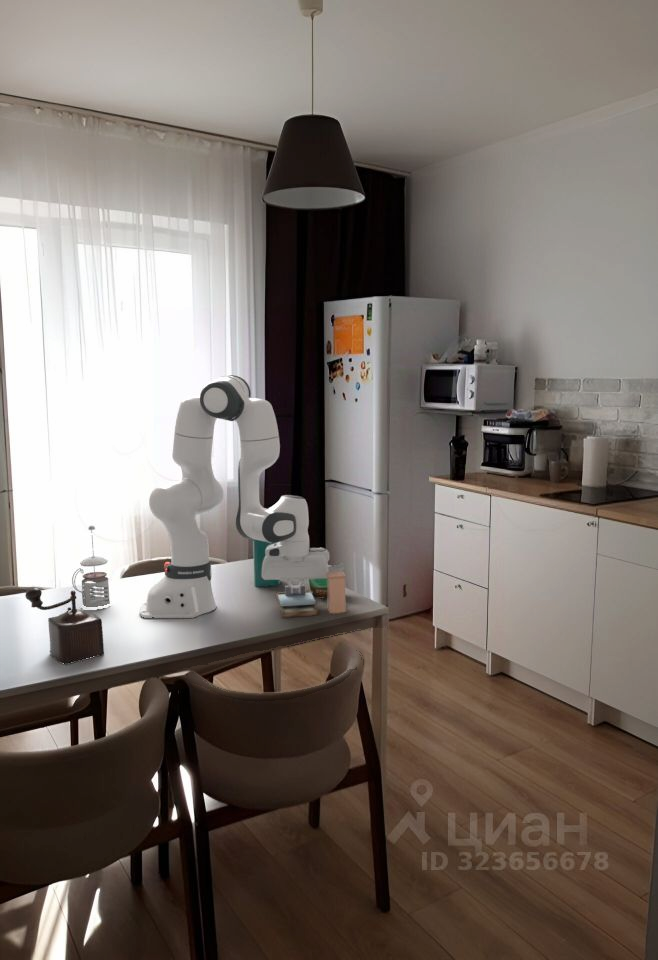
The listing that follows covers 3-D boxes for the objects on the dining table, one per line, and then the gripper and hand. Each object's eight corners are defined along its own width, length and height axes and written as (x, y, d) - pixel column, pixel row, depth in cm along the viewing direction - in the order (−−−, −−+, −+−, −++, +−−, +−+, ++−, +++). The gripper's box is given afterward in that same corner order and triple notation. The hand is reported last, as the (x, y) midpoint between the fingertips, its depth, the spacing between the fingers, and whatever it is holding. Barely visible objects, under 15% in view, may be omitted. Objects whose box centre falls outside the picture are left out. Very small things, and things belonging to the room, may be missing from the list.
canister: (329, 613, 213) (328, 576, 212) (327, 608, 218) (326, 572, 216) (346, 612, 214) (345, 575, 212) (343, 607, 219) (342, 571, 217)
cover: (281, 606, 215) (280, 594, 215) (278, 596, 225) (277, 585, 225) (315, 604, 217) (315, 592, 216) (311, 594, 226) (311, 583, 226)
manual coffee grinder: (88, 643, 193) (84, 576, 190) (105, 654, 184) (101, 585, 182) (27, 657, 183) (22, 587, 181) (42, 670, 175) (36, 597, 172)
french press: (118, 605, 225) (113, 525, 221) (81, 614, 217) (75, 531, 214) (105, 598, 232) (100, 521, 229) (69, 606, 225) (63, 526, 222)
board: (282, 617, 210) (282, 612, 210) (276, 596, 231) (276, 592, 231) (318, 615, 212) (318, 610, 212) (309, 594, 233) (309, 590, 232)
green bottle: (255, 580, 250) (253, 517, 247) (280, 579, 251) (278, 516, 248) (254, 588, 241) (251, 522, 238) (279, 587, 241) (278, 521, 238)
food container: (306, 599, 227) (305, 568, 226) (305, 594, 233) (305, 563, 232) (345, 598, 228) (345, 567, 226) (344, 593, 234) (344, 562, 232)
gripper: (329, 545, 224) (330, 589, 225) (262, 546, 224) (263, 590, 226) (329, 550, 217) (330, 595, 219) (260, 551, 217) (261, 596, 219)
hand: (295, 592), depth 222 cm, fingers closed
